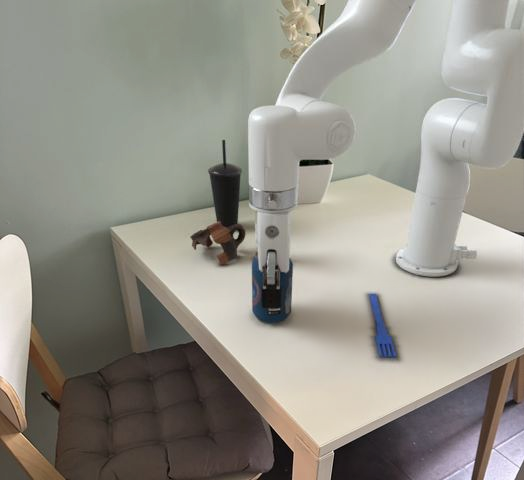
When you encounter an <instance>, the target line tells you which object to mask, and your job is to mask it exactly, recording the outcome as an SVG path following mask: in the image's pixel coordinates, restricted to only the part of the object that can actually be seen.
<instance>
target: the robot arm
mask: <svg viewBox="0 0 524 480" xmlns="http://www.w3.org/2000/svg"><path fill="white" fill-rule="evenodd" d="M417 1H418V0H347V3H346V5H345V7H344V9H343V11H342V12H341V14H340V15H339V16H338V18H337V19H336V20H335V21H333V22H332V23H331V24H330V25H329V26H328V27H327V28H326V29H325V30H324V31H323V32H322V33H321V34H320V35H319V36H318V37H317V38H316V39H315V40H314V41H313V42H312V43H311V44H310V45H309V46H308V48H306V49H305V51H304V52H303V53H302V54H301V55H300V56H299V58H298V59H297V60H296V61H295V63H294V65H293V67H292V68H291V70H290V72H289V74H288V76H287V78H286V79H285V82H284V84H283V86H282V88H281V90H280V92H279V95H278V96H277V99H276V102H275V104H273V105H263V106H262V105H261V106H259V107H256V108H254V109H252V110H251V112H250V113H249V115H248V119H247V121H248V122H247V144H248V145H247V147H248V148H247V153H248V207H249V208H250V209H251V210H253V211H255V212H256V211H257V245H258V261H259V270H260V271H261V272H263V286H262V308H275V309H279V308H280V307H281V286H280V270H281V272H285V273H287V272H288V271H289V260H290V259H291V236H292V235H291V233H292V211H294V210H296V208H298V204H299V203H298V200H299V199H298V198H299V181H300V179H299V178H300V162H301V161H303V160H305V161H307V160H309V161H310V160H314V161H316V160H318V161H322V160H323V161H325V160H333V159H336V158H338V157H340V156H342V155H344V154H345V153H346V152H347V151H348V150H349V149H350V147H351V146H352V145H353V142H354V140H355V139H356V138H355V137H356V131H357V129H356V128H357V127H356V123H355V119H354V117H353V115H352V114H351V113H350V112H349V111H348V110H347V109H346V108H344V107H342V106H341V105H338V104H335V103H331V102H328V101H325V100H323V97H324V96H325V94H326V92H327V91H328V90H329V88H330V87H331V86H332V84H333V83H334V82H336V80H337V79H339V77H341V76H342V75H343V74H344V73H346V72H347V71H349V70H351V69H353V68H355V67H356V66H359V65H361V64H364V63H366V62H368V61H371V60H373V59H375V58H377V57H379V56H382V55H383V54H385V53H387V52H388V51H390V49H392V48H393V47H394V45H395V43H396V41H397V39H398V37H399V36H400V34H401V32H402V29H403V28H404V26H405V24H406V23H407V20H408V18H409V17H410V14H411V12H412V10H413V9H414V7H415V5H416V3H417ZM509 3H510V0H451V6H450V12H449V18H448V25H447V30H446V37H445V42H444V48H443V54H442V61H441V70H440V71H441V72H440V76H441V79H442V82H443V83H444V85H445V86H446V87H448V88H450V89H453V90H455V91H459V92H462V93H467V94H472V95H477V96H482V97H486V98H487V101H486V103H483V102H479V101H474V100H471V99H470V100H469V99H466V98H465V99H464V98H459V97H448V98H444V99H441V100H439V101H436V102H435V103H434V104H433V105H432V106H431V107H430V108H429V109H428V110H427V112H426V113H425V115H424V118H423V121H422V123H421V129H420V164H419V172H418V178H417V182H416V188H415V193H414V198H413V203H412V209H411V215H410V219H409V224H408V231H407V235H406V241H405V247H403V248H401V249H399V250H398V251H397V253H396V254H395V262H396V264H397V265H398V267H400V268H401V269H403V270H404V271H406V272H408V273H411V274H414V275H417V276H422V277H431V278H434V277H435V278H436V277H445V276H448V275H451V274H453V273H454V272H455V271H456V270H457V269H458V265H459V261H460V260H461V259H465V260H476V259H477V256H478V252H477V251H478V250H477V249H468V246H467V245H456V240H457V237H458V232H459V228H460V224H461V219H462V215H463V211H464V208H465V204H466V200H467V199H466V198H467V195H468V192H469V188H470V184H471V172H470V167H469V165H471V166H475V167H478V168H482V169H486V170H497V169H500V168H503V167H504V166H506V165H507V164H509V162H510V161H511V160H512V159H513V157H514V156H515V155H516V153H517V151H518V149H519V146H520V144H521V142H522V139H523V136H524V29H517V28H507V27H506V19H507V14H508V9H509ZM266 266H267V269H266ZM275 266H278V269H275ZM275 273H277V279H276V278H275ZM266 274H267V278H266Z"/></svg>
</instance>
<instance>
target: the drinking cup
mask: <svg viewBox="0 0 524 480" xmlns="http://www.w3.org/2000/svg"><path fill="white" fill-rule="evenodd" d="M221 144H222V146H221V147H222V162H221V163H217V164H214V165H213V166H211V167H209V168H208V169H207V173H208V175H209V180H210V186H211V187H210V188H211V193H212V199H213V200H212V201H213V206H214V207H213V208H214V213H215V218H216V219H215V220H216V222H221V224H222V226H224V227H230V226H232V225H235V224H239V207H240V190H241V175H242V172H243V169H242V167H241V166H238V165H236V164H234V163H229V162H227V150H226V149H227V147H226V139H222V140H221Z"/></svg>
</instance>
